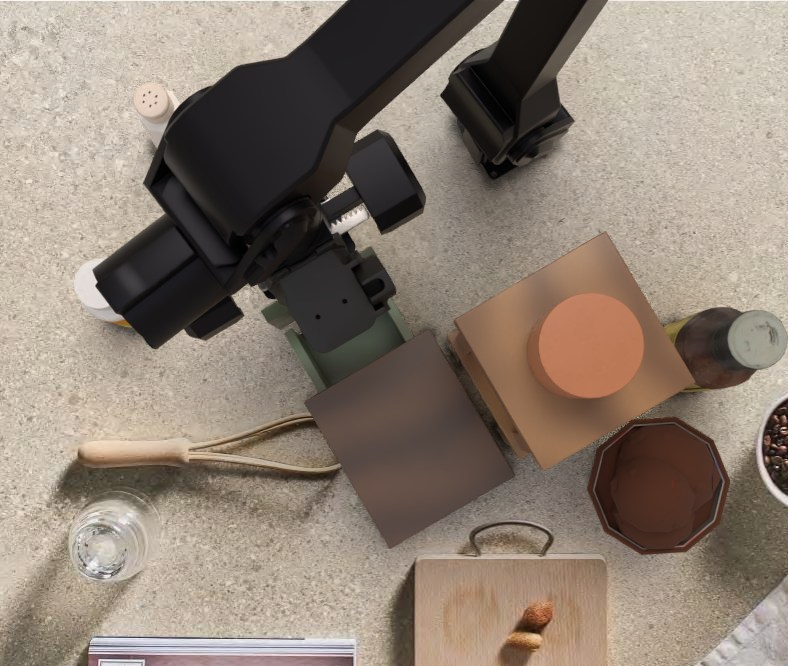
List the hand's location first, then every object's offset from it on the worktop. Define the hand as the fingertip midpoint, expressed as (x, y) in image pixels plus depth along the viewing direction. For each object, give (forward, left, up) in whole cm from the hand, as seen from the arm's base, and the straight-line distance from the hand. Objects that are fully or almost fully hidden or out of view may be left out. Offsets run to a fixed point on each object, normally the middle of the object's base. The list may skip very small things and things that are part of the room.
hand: (304, 257), depth 69 cm
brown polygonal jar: (-15, +29, -10) cm, 35 cm away
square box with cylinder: (-12, +16, -10) cm, 23 cm away
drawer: (0, +6, -9) cm, 11 cm away
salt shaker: (+4, -17, -10) cm, 20 cm away
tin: (-12, +16, +13) cm, 24 cm away
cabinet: (0, +16, -10) cm, 19 cm away
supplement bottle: (+15, -7, -10) cm, 20 cm away
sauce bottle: (-24, +22, -10) cm, 34 cm away
